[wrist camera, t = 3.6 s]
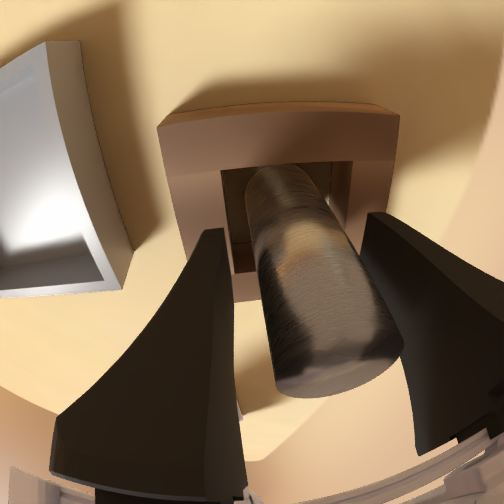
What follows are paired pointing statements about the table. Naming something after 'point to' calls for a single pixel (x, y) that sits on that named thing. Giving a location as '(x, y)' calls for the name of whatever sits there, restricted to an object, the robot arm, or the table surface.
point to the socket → (272, 153)
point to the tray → (55, 182)
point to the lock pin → (314, 290)
